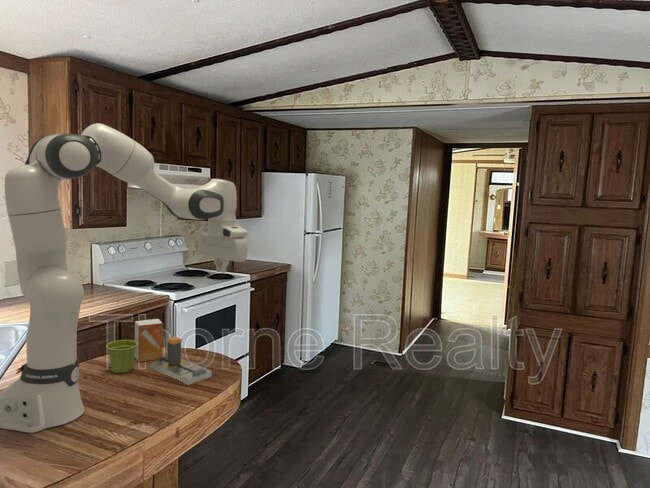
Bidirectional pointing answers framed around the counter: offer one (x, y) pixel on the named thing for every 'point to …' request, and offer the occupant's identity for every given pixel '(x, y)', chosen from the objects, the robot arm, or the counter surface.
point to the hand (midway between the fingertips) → (221, 272)
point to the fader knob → (174, 350)
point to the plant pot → (122, 355)
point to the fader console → (181, 370)
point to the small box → (148, 339)
